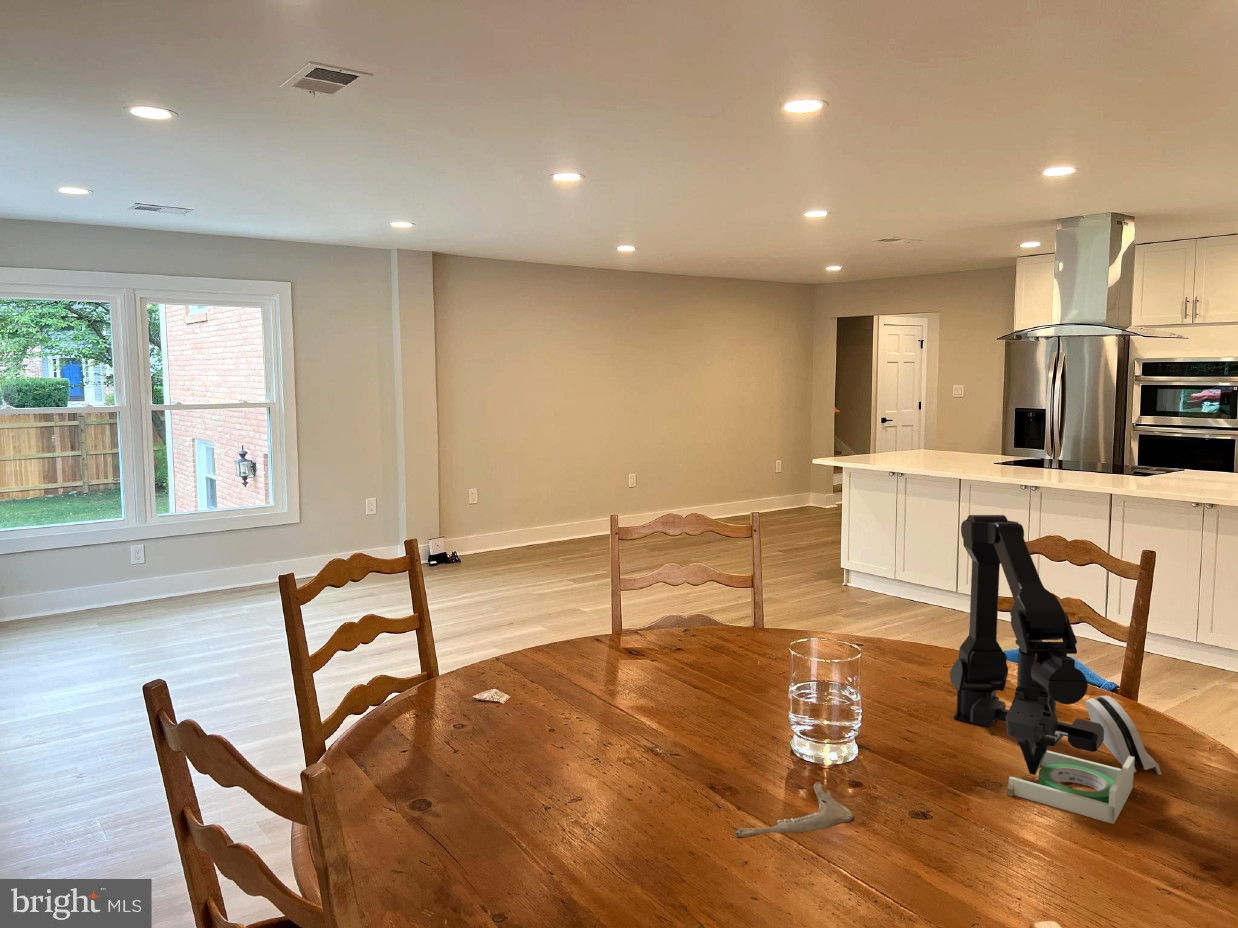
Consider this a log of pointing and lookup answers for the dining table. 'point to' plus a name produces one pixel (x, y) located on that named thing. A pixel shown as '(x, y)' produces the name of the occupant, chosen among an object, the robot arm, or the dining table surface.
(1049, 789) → the frame
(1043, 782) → the tape roll
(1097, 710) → the white curved piece
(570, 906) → the dining table surface
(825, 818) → the jawbone
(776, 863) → the dining table surface
